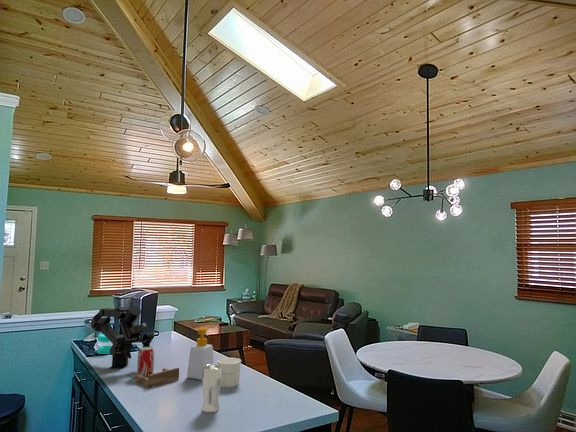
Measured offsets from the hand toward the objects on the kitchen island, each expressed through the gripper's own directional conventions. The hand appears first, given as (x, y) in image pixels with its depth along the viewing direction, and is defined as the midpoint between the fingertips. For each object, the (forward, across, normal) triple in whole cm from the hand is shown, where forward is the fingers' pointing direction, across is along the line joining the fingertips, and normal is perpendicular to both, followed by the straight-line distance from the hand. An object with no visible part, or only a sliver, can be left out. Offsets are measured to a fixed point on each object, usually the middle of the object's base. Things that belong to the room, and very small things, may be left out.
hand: (140, 356), depth 185 cm
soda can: (+9, 0, +2) cm, 9 cm away
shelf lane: (+16, 0, -5) cm, 17 cm away
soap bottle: (+23, +18, -11) cm, 31 cm away
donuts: (-29, +8, +41) cm, 51 cm away
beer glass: (+47, -5, -35) cm, 59 cm away
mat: (+9, 0, +2) cm, 9 cm away
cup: (+35, +18, -24) cm, 46 cm away
